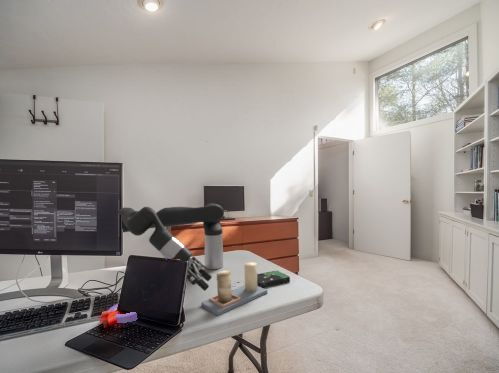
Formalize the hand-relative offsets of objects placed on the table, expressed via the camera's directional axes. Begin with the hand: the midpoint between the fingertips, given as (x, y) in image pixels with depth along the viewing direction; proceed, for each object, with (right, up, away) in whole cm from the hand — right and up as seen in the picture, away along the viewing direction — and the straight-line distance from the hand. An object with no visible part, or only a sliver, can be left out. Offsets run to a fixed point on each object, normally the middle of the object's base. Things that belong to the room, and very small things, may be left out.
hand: (208, 283), depth 92 cm
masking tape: (-26, -9, -8) cm, 28 cm away
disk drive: (+24, -7, +21) cm, 33 cm away
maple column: (+6, -6, +1) cm, 9 cm away
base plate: (+10, -7, +4) cm, 13 cm away
